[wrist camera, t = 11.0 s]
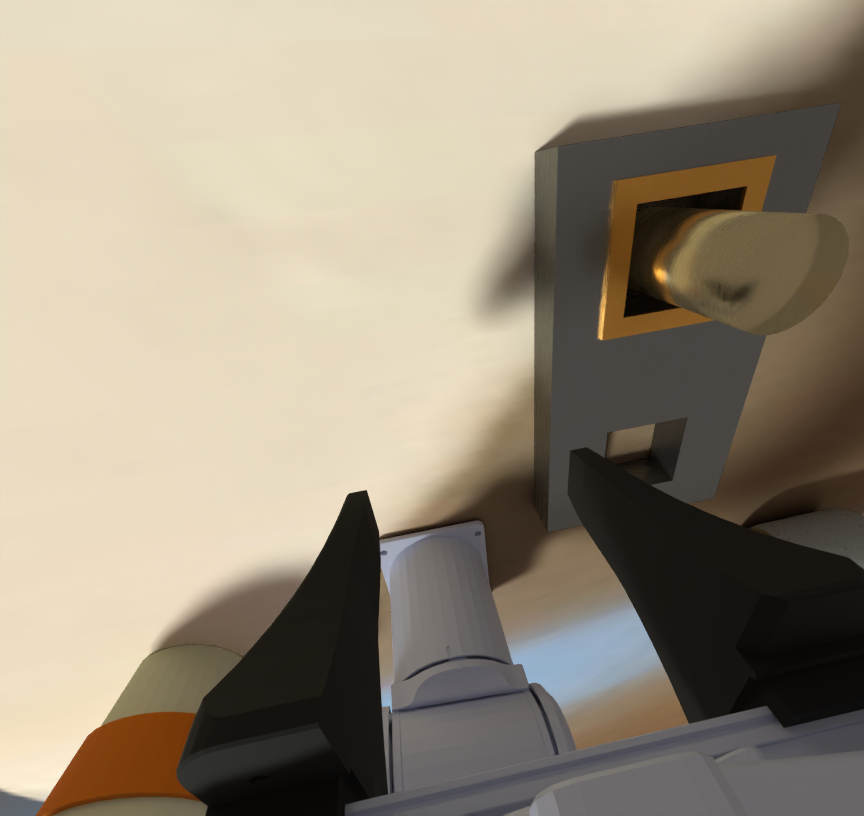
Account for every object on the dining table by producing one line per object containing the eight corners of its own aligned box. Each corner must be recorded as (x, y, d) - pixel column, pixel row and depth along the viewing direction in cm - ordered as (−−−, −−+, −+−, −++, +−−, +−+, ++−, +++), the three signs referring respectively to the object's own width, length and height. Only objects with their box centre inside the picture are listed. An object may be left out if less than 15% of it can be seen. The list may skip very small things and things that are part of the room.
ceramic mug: (735, 510, 32) (830, 596, 25) (829, 488, 32) (947, 567, 25) (709, 586, 37) (782, 672, 31) (789, 566, 37) (879, 648, 31)
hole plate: (688, 475, 29) (715, 500, 26) (534, 506, 28) (548, 534, 26) (784, 113, 18) (846, 101, 15) (534, 152, 17) (560, 145, 15)
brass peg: (674, 281, 21) (821, 325, 14) (605, 294, 21) (720, 344, 14) (689, 200, 19) (868, 204, 12) (613, 213, 19) (750, 224, 12)
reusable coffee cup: (149, 721, 35) (19, 1027, 22) (82, 645, 29) (-153, 1009, 16) (288, 697, 36) (241, 975, 24) (252, 620, 30) (161, 939, 17)
